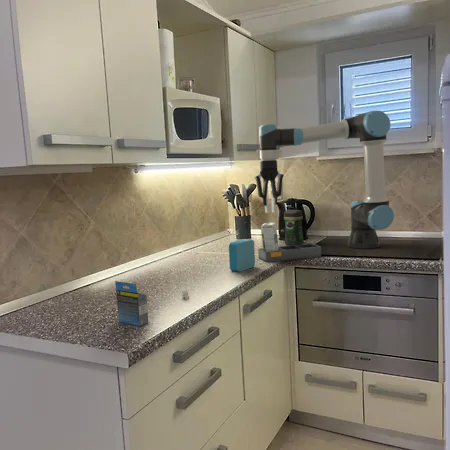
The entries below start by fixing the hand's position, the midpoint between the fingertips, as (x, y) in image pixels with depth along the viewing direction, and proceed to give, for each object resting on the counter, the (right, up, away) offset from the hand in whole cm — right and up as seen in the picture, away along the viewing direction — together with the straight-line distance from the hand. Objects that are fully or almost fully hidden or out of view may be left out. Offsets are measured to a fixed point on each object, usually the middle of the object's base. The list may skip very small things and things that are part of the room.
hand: (270, 212), depth 207 cm
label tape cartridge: (-47, -34, -74) cm, 94 cm away
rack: (+9, -21, +5) cm, 23 cm away
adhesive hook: (-35, -31, -53) cm, 71 cm away
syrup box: (+1, -19, +3) cm, 20 cm away
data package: (-13, -24, -14) cm, 31 cm away
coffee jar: (+16, -16, +37) cm, 44 cm away
